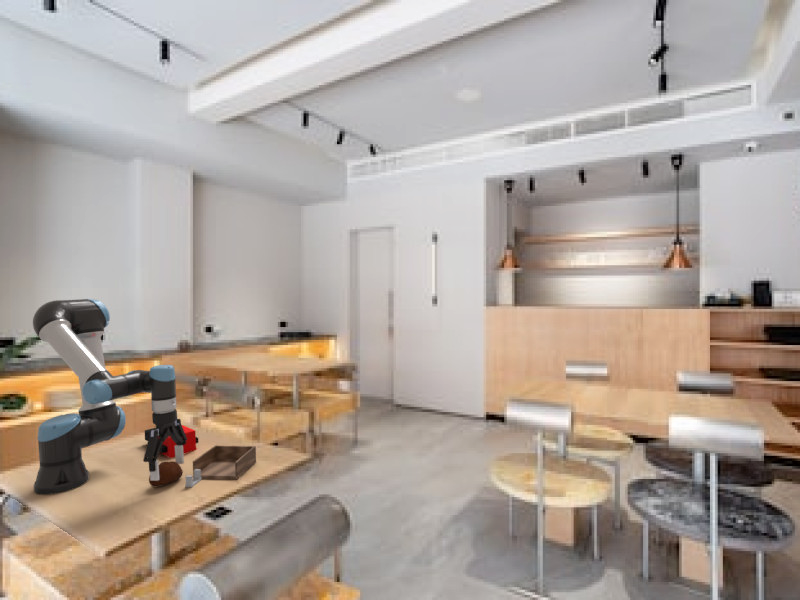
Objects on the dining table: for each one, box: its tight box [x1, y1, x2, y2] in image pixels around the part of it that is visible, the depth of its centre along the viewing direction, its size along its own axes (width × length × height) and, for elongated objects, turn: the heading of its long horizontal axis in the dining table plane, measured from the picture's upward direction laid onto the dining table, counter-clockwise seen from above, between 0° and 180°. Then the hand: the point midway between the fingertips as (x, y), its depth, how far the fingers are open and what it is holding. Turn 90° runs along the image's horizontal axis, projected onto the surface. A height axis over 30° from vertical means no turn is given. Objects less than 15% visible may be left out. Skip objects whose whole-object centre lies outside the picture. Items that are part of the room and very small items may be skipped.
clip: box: [184, 469, 202, 488], centre depth 151 cm, size 2×6×4 cm, turn 174°
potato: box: [148, 460, 184, 488], centre depth 151 cm, size 8×12×8 cm, turn 157°
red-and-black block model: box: [144, 424, 199, 459], centre depth 186 cm, size 15×8×25 cm
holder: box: [192, 445, 257, 481], centre depth 162 cm, size 16×15×6 cm
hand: (167, 471), depth 151 cm, fingers open, 13 cm apart
